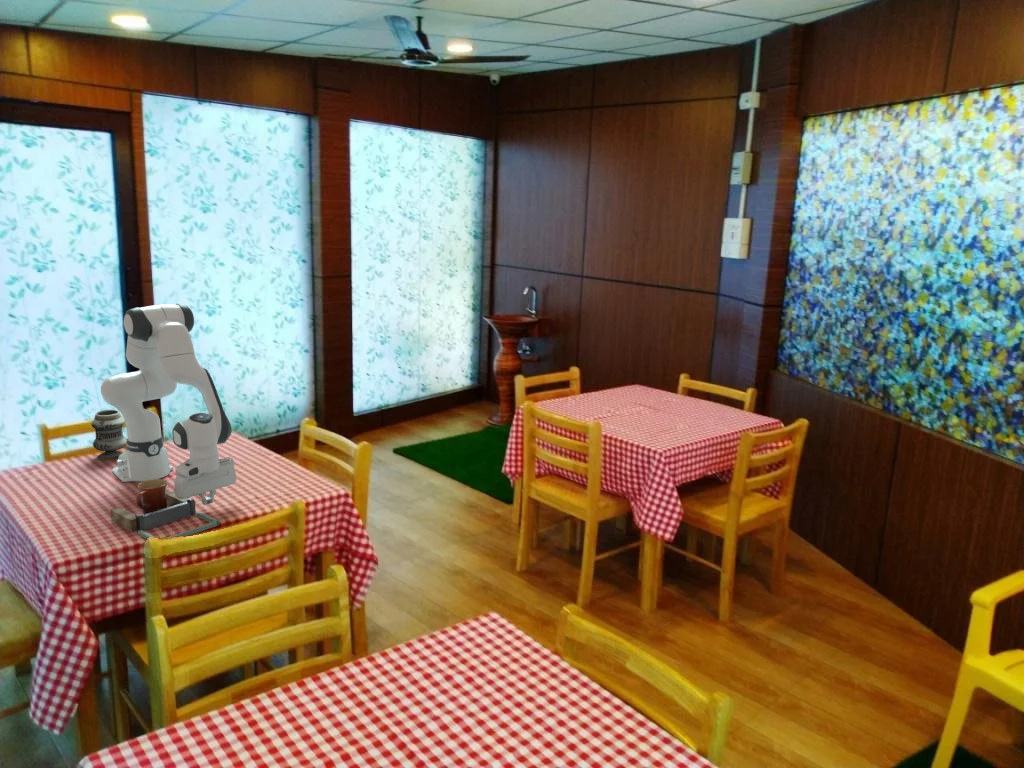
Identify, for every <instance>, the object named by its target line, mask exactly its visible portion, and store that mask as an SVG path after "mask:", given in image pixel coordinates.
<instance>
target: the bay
mask: <svg viewBox="0 0 1024 768" xmlns="http://www.w3.org/2000/svg"><path fill="white" fill-rule="evenodd" d="M195 515H196V517H197V518H200V519H202V518H203V519H202V520H204V521H207V522H209V523H207V524H203V525H200V526H198V527H194V528H191V529H189V530H186V531H183V532H179V533H176V534H174V535H173V534H172V535H170V536H167V537H166V538H172V537H179V536H186V537H188V536H187V535H189V536H191V535H194V534H198V533H200V532H203V531H207V530H208V529H211V528H214V527H218V526H220V525H221V521H220V520H219V519H217V518H215V517H212V516H210V515H207V514H205V513H203V512H201V511H196V512H195ZM137 533H138V535H139V536H140V537H142V538H145V539H146V538H149V537H155V535H152V534H150V533H148V532H146V531H143V530H139V531H137Z"/></svg>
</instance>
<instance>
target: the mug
mask: <svg viewBox="0 0 1024 768" xmlns="http://www.w3.org/2000/svg"><path fill="white" fill-rule="evenodd" d="M167 486H168V481H167V480H165V479H163V478H159V479H152V480H147V481H140V482H139V483H138V484H137V488H138V491H139V492H138V493H137V494H136V498H135V501H136V502H135V503H136V505H137V507H138V508H139V509H140V510H142V511H141V512H142V515H145V514H148V513H151V512H154V511H158V510H161V509H164V508H168V506H167V499H166V493H167V491H166V489H167Z"/></svg>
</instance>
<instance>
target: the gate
mask: <svg viewBox="0 0 1024 768" xmlns="http://www.w3.org/2000/svg"><path fill="white" fill-rule="evenodd" d="M194 500H195V499H194V498H192V497H189V499H187V502H184V503H181V504H177V505H174V506H171V507H170V506H167V508H164V509H161V510H158V511H154V512H151V513H148V514H145V515H144V514H141V513H137V514H135V515H136V525H137V531H136V532H138V531H139V530H143V531H144V532H146V531H147V530H151V529H154V528H158V527H160V526H163V525H167V524H169V523H172V522H176V521H179V520H181V519H185V518H187V517H188V518H189V517H191V516H195V515H196V512H195V508H196V503H195V504H194Z"/></svg>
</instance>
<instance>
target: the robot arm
mask: <svg viewBox="0 0 1024 768" xmlns="http://www.w3.org/2000/svg"><path fill="white" fill-rule="evenodd" d="M123 315H124V316H123V327H124V330H125V333H126V334H127V339H126V340H127V342H126V350H125V351H126V352H125V356H126V360H127V362H128V363H129V364H130V365H132V366H133V367H134V368H137V369H138V370H136V371H130V372H124V373H118V374H115V375H113V376H112V375H111V376H109V377H106V378H104V380H103V381H102V384H101V385H100V393H101V396H102V398H103V400H104V401H105V402H106V404H109V405H110V406H112V407H114V408H116V410H118V411H119V413H120V415H121V416H122V417H124V419H125V423H124V424H125V428H126V433H127V434H126V435H127V439H126V440H127V441H126V442H127V443H126V445H125V450H123V451H122V452H123V453H122V454H121V455H120V456H119V458H117V460H116V466H115V467H113V468H112V469H111V470H112V471H111V472H112V473H113V474H114V475H115V476H116V477H117V478H118V479H119V480H121V482H122V483H123V482H124V483H125V482H126V483H127V482H128V483H129V482H143V481H147V480H152V479H163V478H164V477H166V476H168V475H169V474H170V472H171V471H172V470H174V466H173V465H170V460H169V453H168V450H167V448H166V447H164V437H163V435H162V430H161V428H162V427H161V420H160V417H159V415H158V413H156V412H154V411H153V410H149V409H146V408H144V405H143V402H147V401H153V400H157V399H158V400H159V399H162V398H166V397H168V396H170V395H173V394H174V393H175V391H176V389H177V385H178V384H181V385H185V386H189V387H193V388H195V389H197V390H198V392H200V394H201V396H202V399H203V402H204V405H205V408H206V410H207V413H206V412H200V413H199V412H198V413H194V414H192V415H190V416H189V417H188V418H187V419H184V420H180V421H178V422H176V424H175V425H174V427H173V428H172V431H171V432H172V433H171V434H172V440H173V444H174V445H175V446H176V447H177V448H179V449H182V450H189V458H188V459H186V460H185V461H184V462H182V463H181V464H178V465H177V466H176V467H175V473H176V476H175V478H174V491H175V495H176V496H177V497H178V498H180V499H186V498H192V497H195V496H198V497H199V498H200V499H201V503H202V505H204V506H207V505H210V504H214V498H215V495H216V493H217V490H218V489H222V488H225V487H228V486H231V485H235V484H236V482H237V479H238V478H237V473H236V470H235V460H234V459H233V458H232V457H230V456H229V457H228V456H227V457H225V458H220V454H219V450H218V445H220V444H222V445H223V444H225V443H226V442H227V441H228V439H229V438H230V437H231V435H232V433H233V432H232V425H231V422H230V420H229V418H228V416H227V414H226V413H225V410H224V407H223V404H222V402H221V399H220V397H219V394H218V391H217V388H216V386H215V383H214V380H213V378H212V376H211V373H210V372H209V370H208V369H207V368H204V367H202V366H201V364H200V363H199V362H198V359H197V357H196V354H195V348H194V344H193V340H192V338H191V334H190V332H191V331H192V330H193V328H194V325H195V317H194V313H193V310H192V309H191V308H190V307H189V306H188V305H186V304H182V303H175V304H173V303H172V304H171V303H169V304H167V303H166V304H165V303H164V304H163V303H162V304H155V305H148V306H142V307H133V308H130V309H128V310H126V311H125V313H124V314H123ZM207 493H208V496H207V497H205V496H206V494H207Z"/></svg>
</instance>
